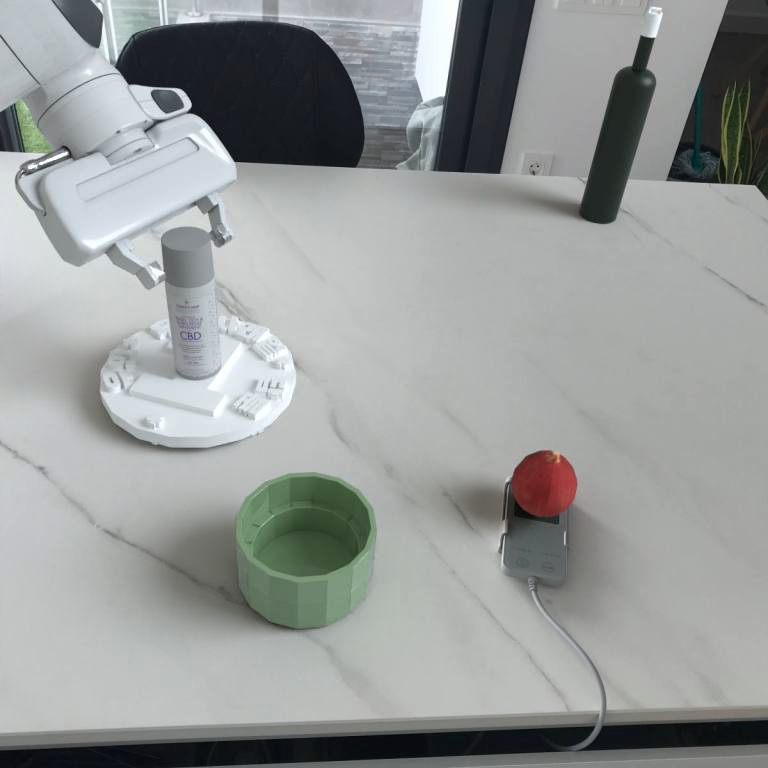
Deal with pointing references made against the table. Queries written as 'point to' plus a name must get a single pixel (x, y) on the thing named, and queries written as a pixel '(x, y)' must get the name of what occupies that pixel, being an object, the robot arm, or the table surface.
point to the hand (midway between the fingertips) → (194, 262)
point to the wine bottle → (621, 129)
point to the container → (191, 302)
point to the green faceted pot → (305, 549)
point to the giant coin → (198, 387)
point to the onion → (544, 483)
